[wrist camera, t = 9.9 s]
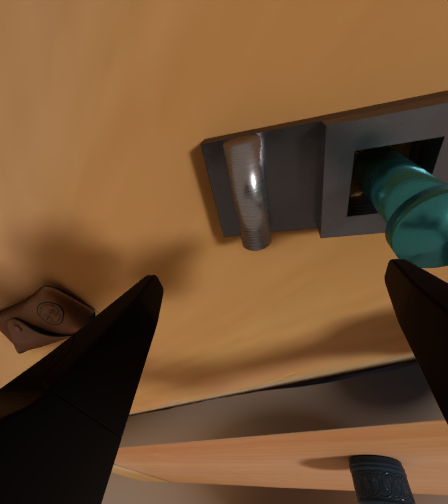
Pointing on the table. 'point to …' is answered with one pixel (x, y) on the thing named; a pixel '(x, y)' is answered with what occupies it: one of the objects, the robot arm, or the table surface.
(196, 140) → the table surface
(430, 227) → the pin
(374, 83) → the table surface
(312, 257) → the table surface
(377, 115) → the plate
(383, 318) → the table surface
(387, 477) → the canister
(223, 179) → the lower chain end
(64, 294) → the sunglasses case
